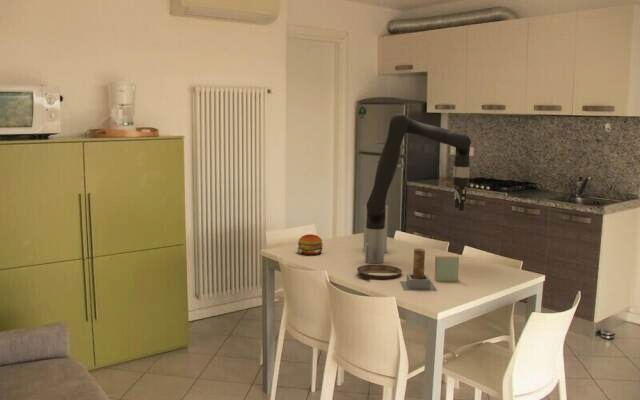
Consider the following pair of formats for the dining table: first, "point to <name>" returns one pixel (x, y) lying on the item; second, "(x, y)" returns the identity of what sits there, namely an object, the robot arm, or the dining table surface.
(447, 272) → the tile
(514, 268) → the dining table surface
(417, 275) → the wooden stick
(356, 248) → the dining table surface
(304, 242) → the burger
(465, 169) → the robot arm
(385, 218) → the cylinder vase
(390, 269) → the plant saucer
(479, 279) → the dining table surface
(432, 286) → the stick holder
